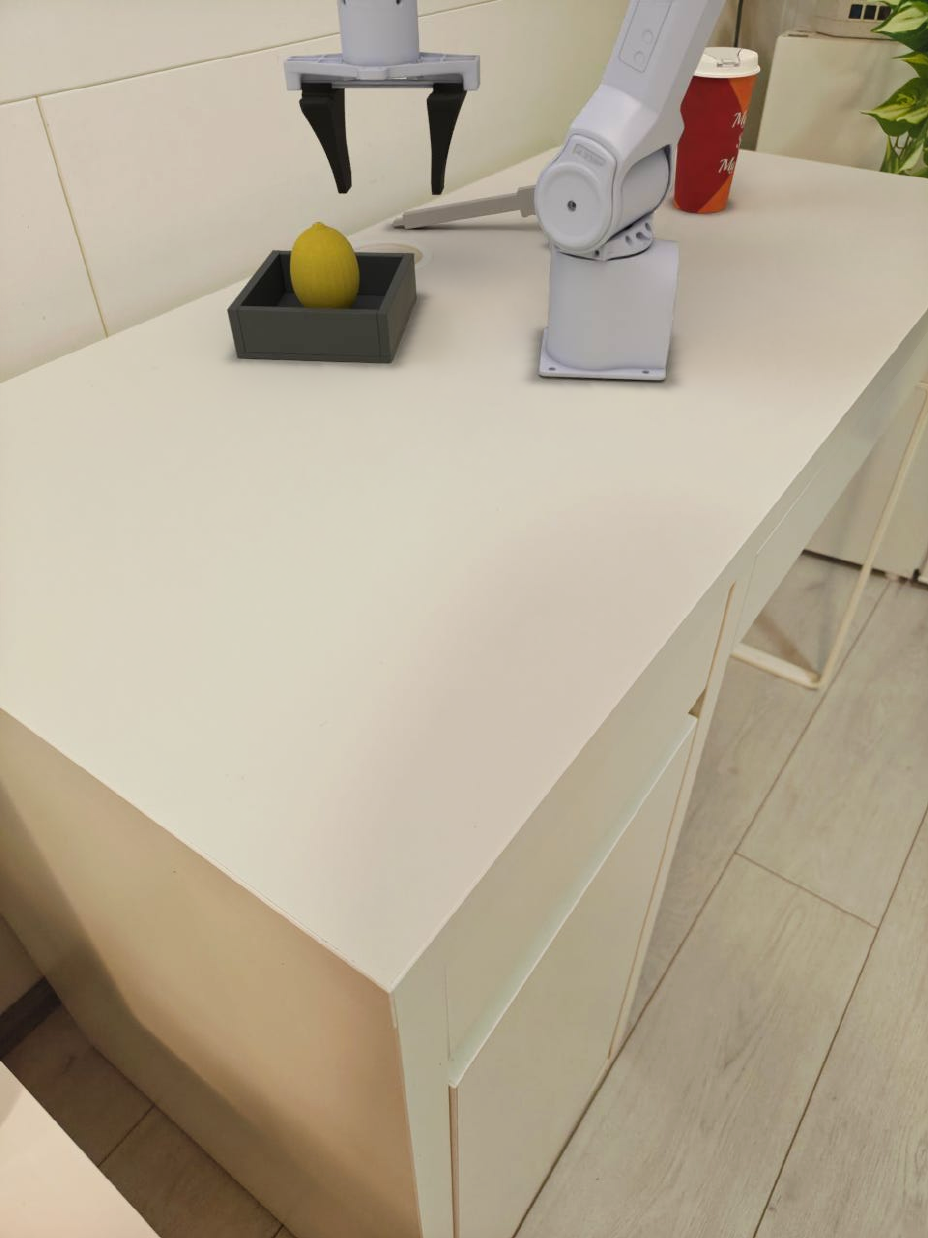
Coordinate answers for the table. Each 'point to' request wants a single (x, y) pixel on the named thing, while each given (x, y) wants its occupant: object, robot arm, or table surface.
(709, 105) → the paper cup
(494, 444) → the table surface
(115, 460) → the table surface
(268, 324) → the dark gray open box
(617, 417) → the table surface
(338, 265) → the lemon
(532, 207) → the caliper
